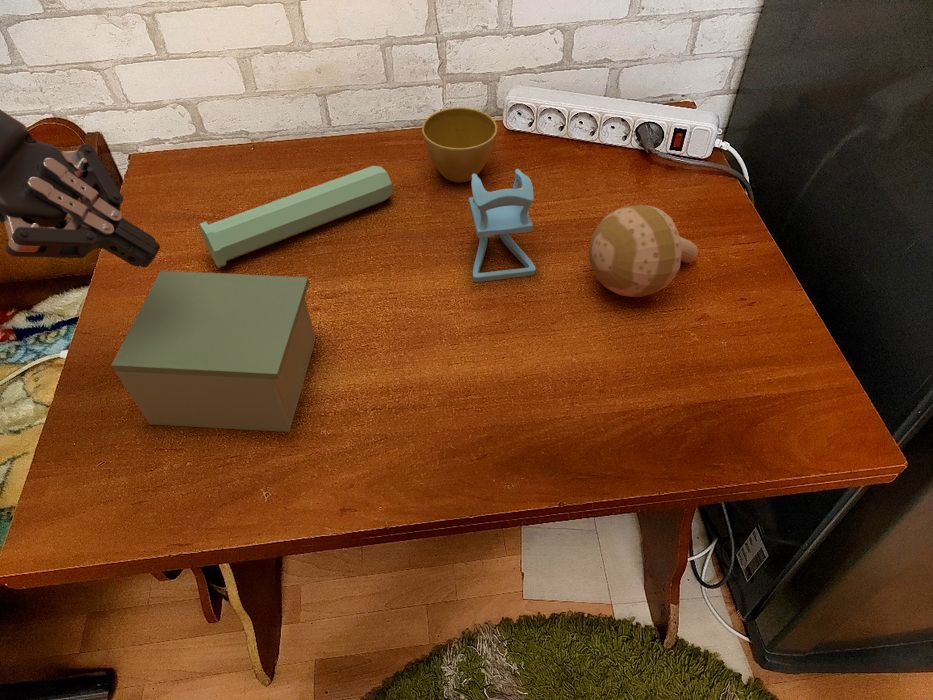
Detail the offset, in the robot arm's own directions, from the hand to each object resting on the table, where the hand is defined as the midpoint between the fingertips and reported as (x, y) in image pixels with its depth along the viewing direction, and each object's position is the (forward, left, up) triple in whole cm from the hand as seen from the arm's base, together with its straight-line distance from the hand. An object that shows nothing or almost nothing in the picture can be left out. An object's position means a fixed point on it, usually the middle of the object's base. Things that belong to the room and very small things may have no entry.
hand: (153, 256), depth 60 cm
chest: (+1, -2, -17) cm, 18 cm away
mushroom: (+39, -32, -18) cm, 54 cm away
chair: (+33, -15, -18) cm, 41 cm away
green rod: (+24, +9, -18) cm, 31 cm away
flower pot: (+45, -1, -18) cm, 49 cm away
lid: (+2, -3, -9) cm, 9 cm away
